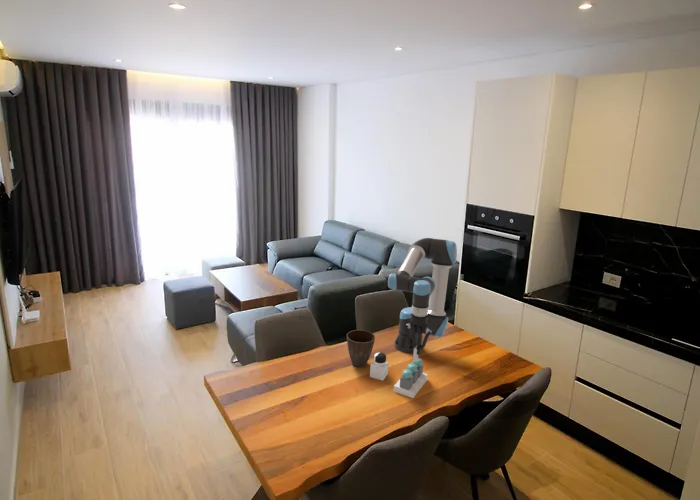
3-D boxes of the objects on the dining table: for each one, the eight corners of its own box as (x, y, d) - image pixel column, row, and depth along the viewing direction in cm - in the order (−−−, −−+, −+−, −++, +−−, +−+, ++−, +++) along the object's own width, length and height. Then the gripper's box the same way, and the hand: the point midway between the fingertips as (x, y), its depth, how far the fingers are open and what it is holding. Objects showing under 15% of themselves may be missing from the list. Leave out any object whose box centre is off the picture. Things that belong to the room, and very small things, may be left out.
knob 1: (399, 386, 204) (401, 372, 202) (403, 382, 208) (404, 368, 206) (408, 389, 202) (410, 375, 200) (412, 385, 206) (413, 370, 204)
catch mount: (393, 391, 206) (394, 376, 203) (408, 373, 222) (410, 359, 220) (413, 398, 201) (414, 383, 199) (427, 379, 217) (428, 365, 215)
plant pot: (352, 354, 239) (354, 327, 235) (377, 361, 233) (379, 333, 228) (340, 366, 226) (341, 338, 222) (366, 373, 220) (368, 345, 215)
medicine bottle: (387, 374, 220) (389, 353, 217) (382, 381, 214) (384, 359, 211) (374, 370, 223) (376, 349, 220) (369, 377, 217) (371, 355, 214)
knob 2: (405, 380, 210) (406, 366, 208) (408, 376, 213) (410, 362, 211) (414, 383, 207) (415, 369, 205) (417, 379, 211) (418, 365, 209)
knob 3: (410, 374, 215) (411, 360, 213) (413, 370, 219) (414, 356, 217) (418, 377, 213) (420, 363, 211) (422, 373, 217) (423, 359, 215)
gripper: (403, 313, 198) (399, 358, 204) (430, 320, 191) (425, 367, 198) (409, 307, 204) (405, 352, 210) (436, 314, 198) (431, 360, 204)
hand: (415, 359), depth 204 cm, fingers closed
